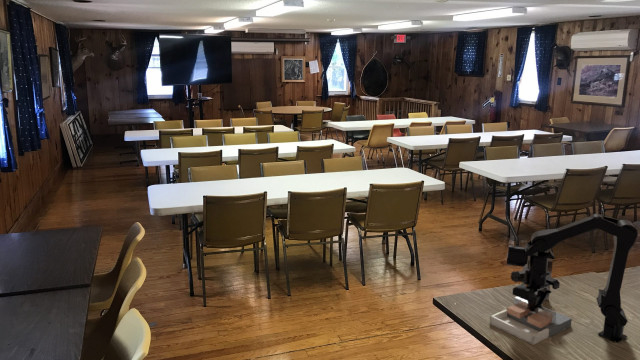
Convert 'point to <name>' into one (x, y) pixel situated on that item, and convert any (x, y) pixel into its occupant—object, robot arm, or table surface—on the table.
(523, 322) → the board
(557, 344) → the table surface
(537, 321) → the tile
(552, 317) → the sleeved grey plank
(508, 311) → the tile
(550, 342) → the table surface
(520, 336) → the tray
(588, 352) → the table surface
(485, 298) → the table surface
